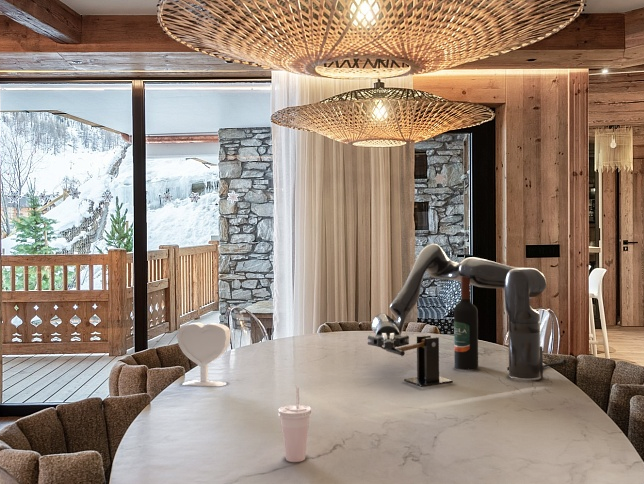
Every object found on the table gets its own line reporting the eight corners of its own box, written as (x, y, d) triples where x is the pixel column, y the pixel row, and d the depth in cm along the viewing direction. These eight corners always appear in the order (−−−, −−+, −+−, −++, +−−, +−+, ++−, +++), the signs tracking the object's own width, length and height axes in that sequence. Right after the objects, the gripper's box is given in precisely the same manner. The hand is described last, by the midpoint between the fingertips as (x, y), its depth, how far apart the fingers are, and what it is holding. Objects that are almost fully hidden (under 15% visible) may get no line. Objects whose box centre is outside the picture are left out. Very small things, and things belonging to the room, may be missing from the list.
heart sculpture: (176, 384, 179) (175, 324, 179) (184, 380, 184) (183, 321, 184) (225, 386, 176) (224, 325, 176) (232, 382, 181) (231, 322, 181)
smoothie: (305, 466, 114) (304, 391, 114) (273, 462, 115) (272, 389, 115) (316, 454, 120) (315, 383, 120) (286, 451, 122) (285, 382, 121)
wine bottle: (481, 371, 193) (480, 277, 193) (458, 372, 192) (457, 277, 192) (473, 366, 201) (472, 276, 200) (451, 367, 199) (450, 276, 199)
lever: (401, 358, 168) (400, 349, 168) (386, 353, 175) (385, 345, 175) (440, 348, 174) (439, 339, 174) (424, 344, 181) (423, 336, 181)
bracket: (421, 389, 170) (420, 340, 170) (404, 383, 178) (403, 336, 178) (452, 384, 176) (452, 337, 176) (434, 378, 184) (434, 333, 184)
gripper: (409, 347, 188) (412, 358, 171) (366, 347, 188) (365, 358, 171) (408, 323, 188) (412, 332, 170) (366, 323, 188) (365, 332, 171)
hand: (388, 345), depth 171 cm, fingers closed
